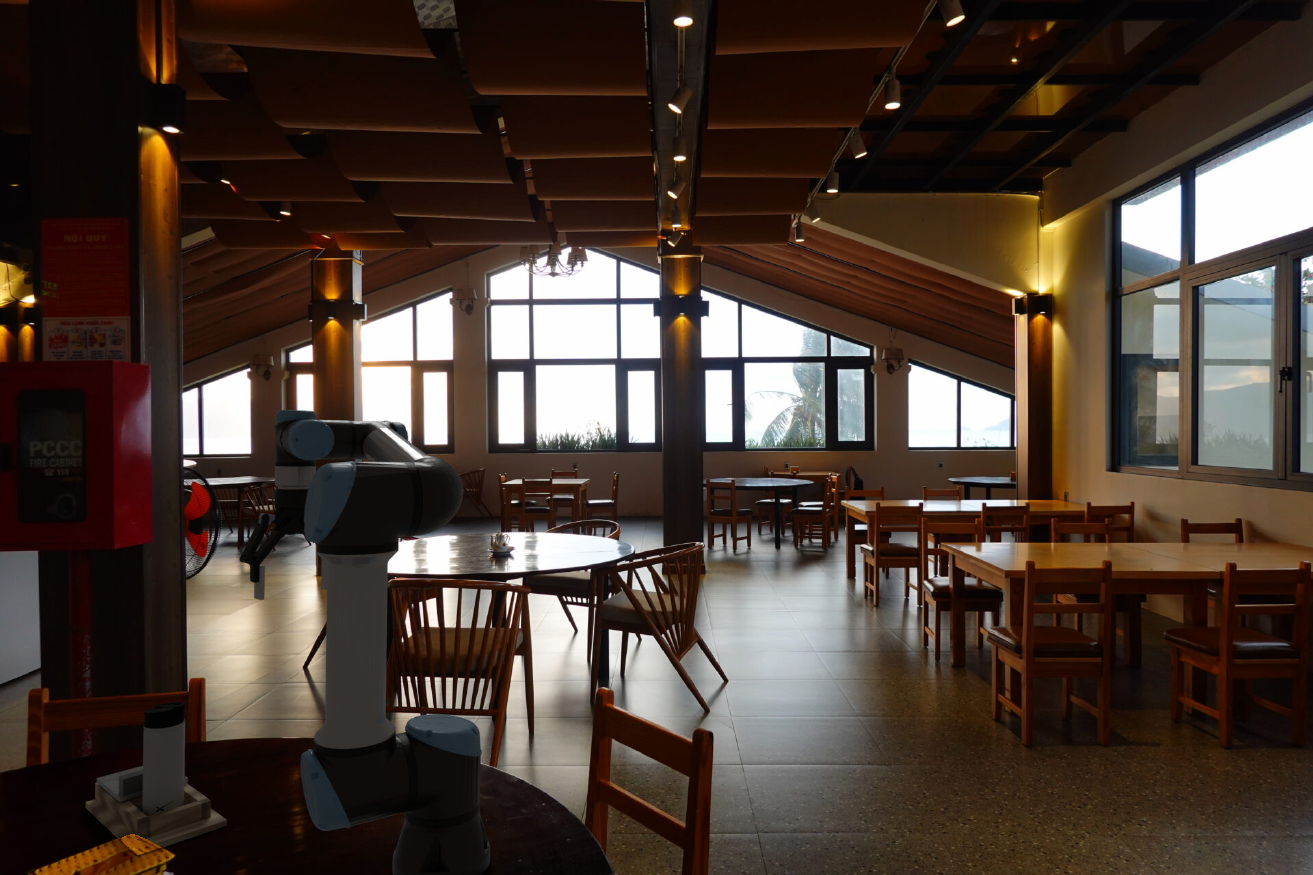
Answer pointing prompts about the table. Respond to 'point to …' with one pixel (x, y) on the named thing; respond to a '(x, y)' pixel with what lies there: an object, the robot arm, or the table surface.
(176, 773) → the travel mug
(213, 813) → the holder
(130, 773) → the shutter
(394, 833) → the table surface
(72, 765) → the table surface
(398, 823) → the table surface
